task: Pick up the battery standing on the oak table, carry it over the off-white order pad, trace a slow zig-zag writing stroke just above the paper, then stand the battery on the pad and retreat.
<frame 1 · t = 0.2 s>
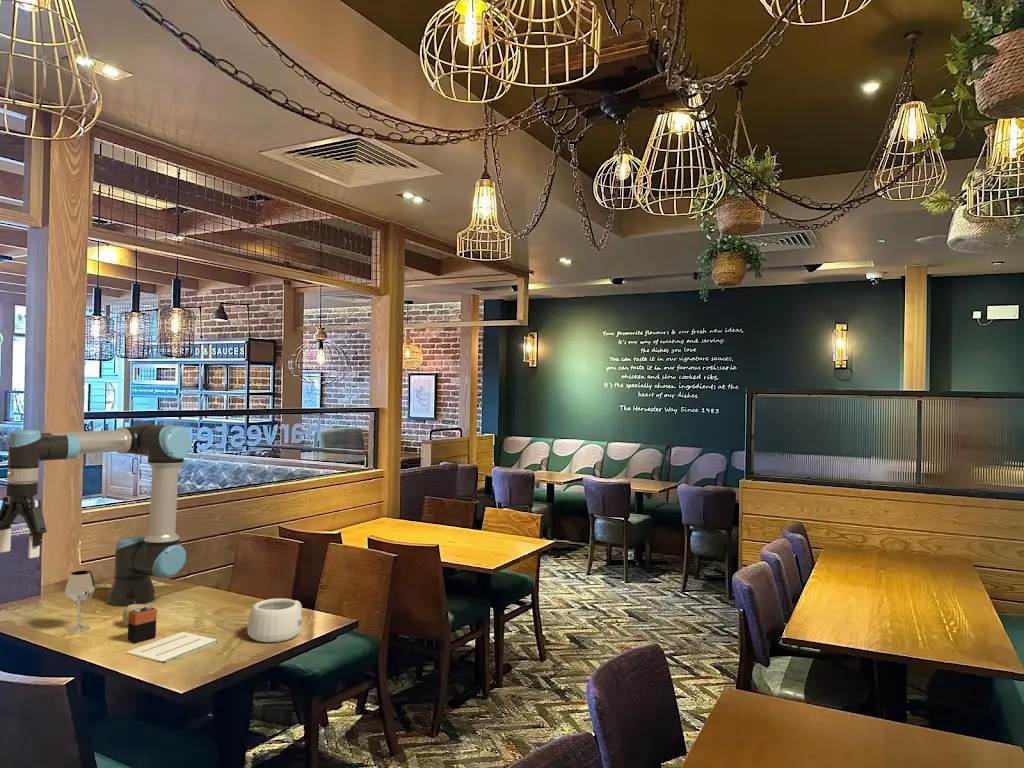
hand: (18, 554, 202), 28 cm above the table, fingers open, 13 cm apart
order pad: (174, 647, 207), on the table
fruit: (135, 626, 225), on the table
wineglass: (78, 629, 220), on the table
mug: (279, 633, 223), on the table
battery: (141, 640, 213), on the table
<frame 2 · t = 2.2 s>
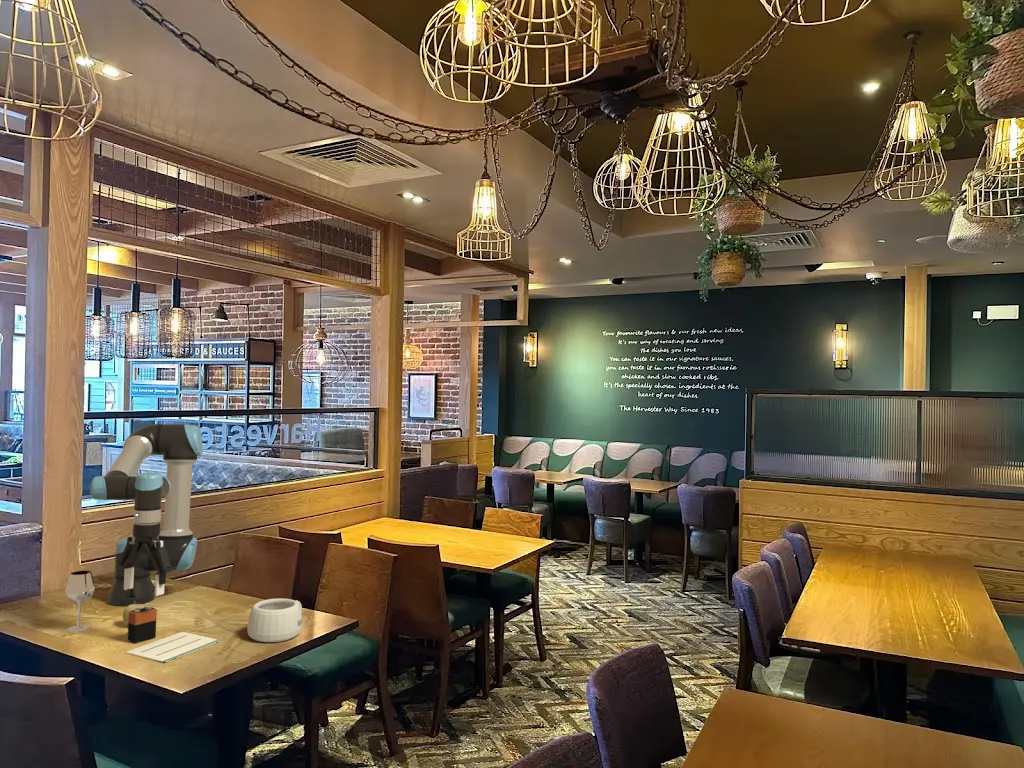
hand: (143, 591, 213), 15 cm above the table, fingers open, 13 cm apart
nothing on the table moved.
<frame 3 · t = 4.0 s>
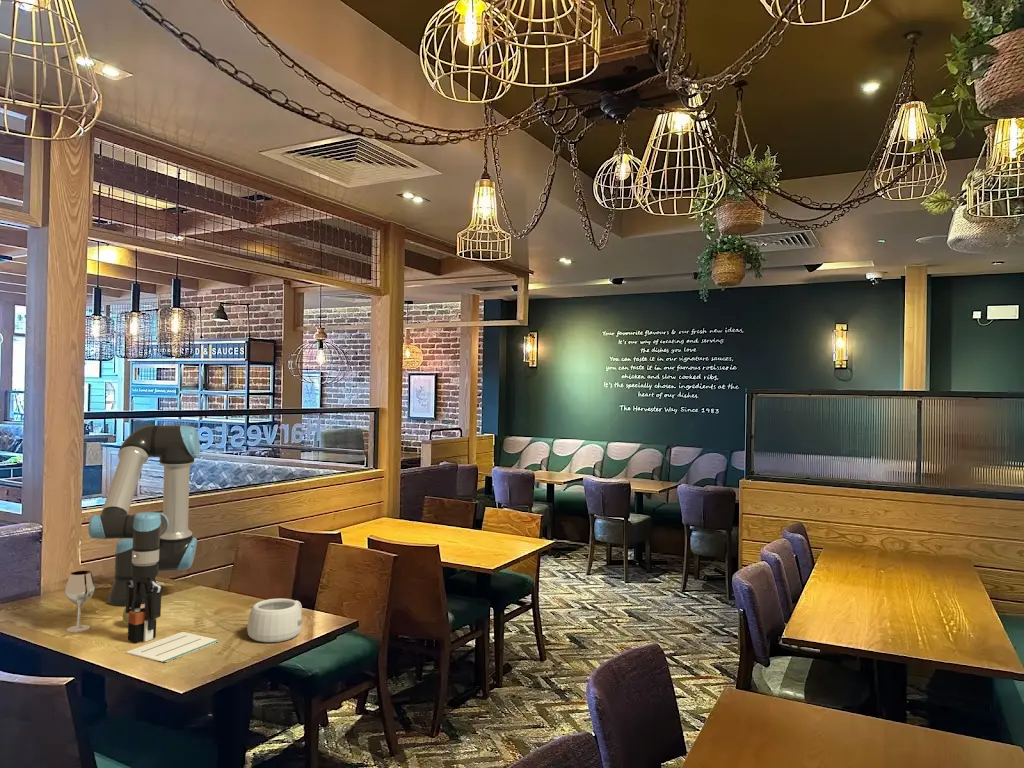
hand: (141, 638, 213), 0 cm above the table, fingers closed on battery, 5 cm apart
battery: (141, 640, 213), on the table, touching gripper
everything else where it was.
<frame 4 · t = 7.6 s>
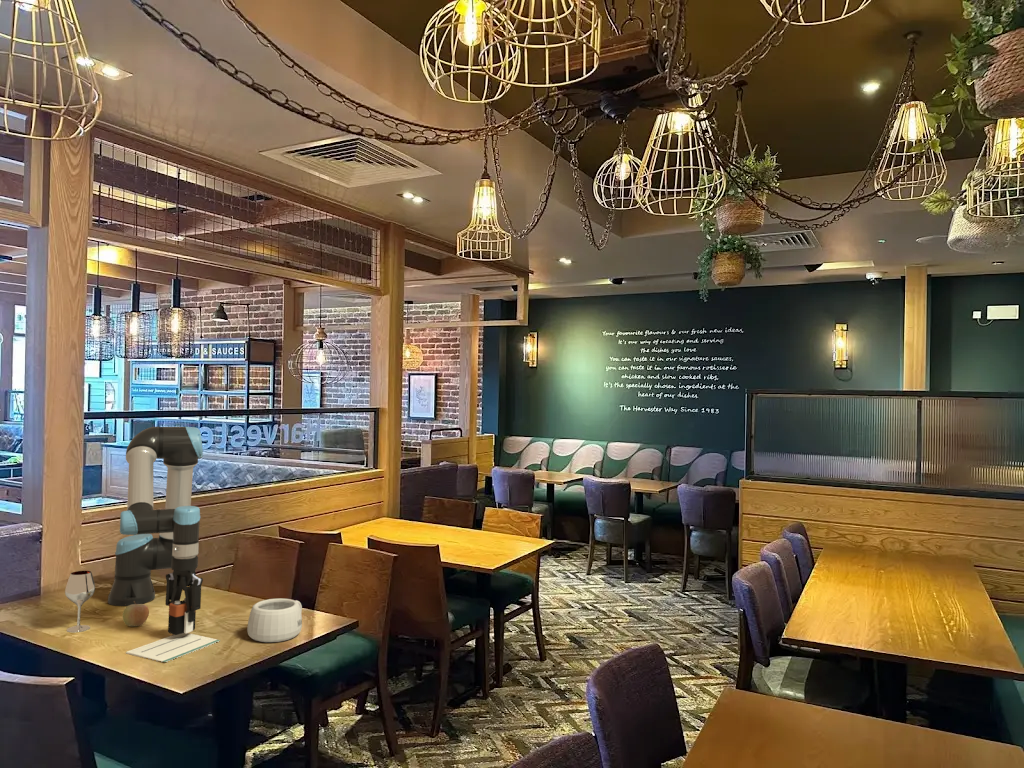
hand: (181, 630, 216), 2 cm above the table, fingers closed on battery, 5 cm apart
battery: (181, 632, 216), point 2 cm above the table, touching gripper
everything else where it was.
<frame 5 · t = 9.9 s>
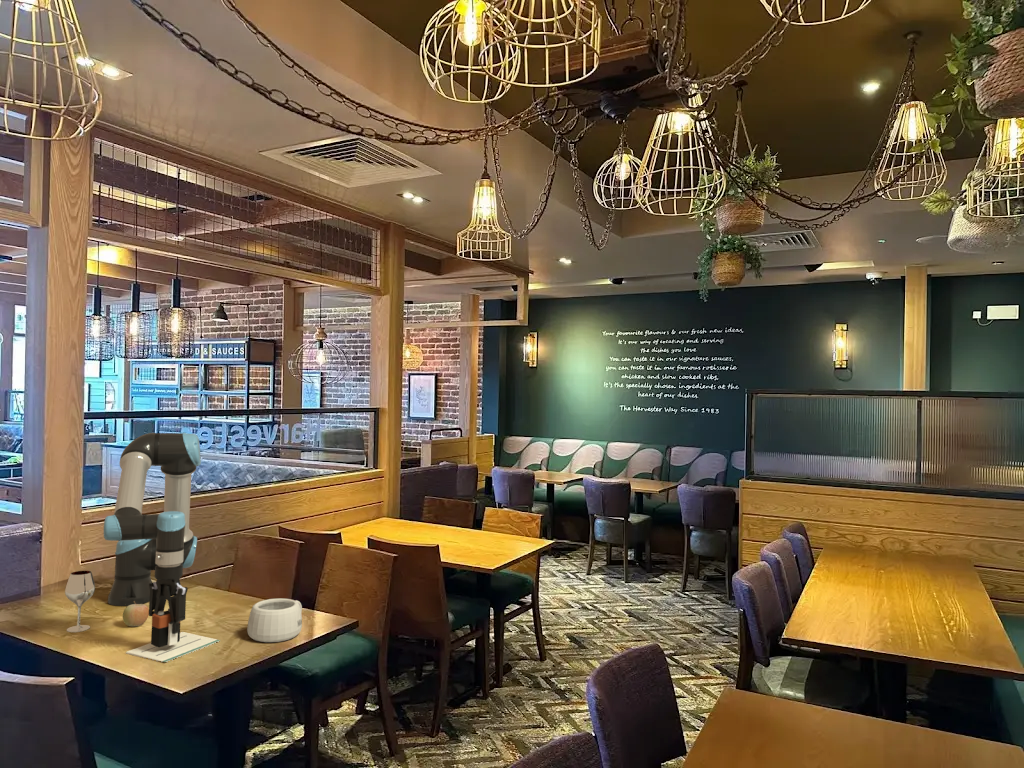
hand: (165, 642, 205), 2 cm above the table, fingers closed on battery, 5 cm apart
battery: (165, 644, 205), point 2 cm above the table, touching gripper
everything else where it was.
when the fingers open (2 cm above the table, at t = 11.5 s): battery drops 1 cm, resting on order pad.
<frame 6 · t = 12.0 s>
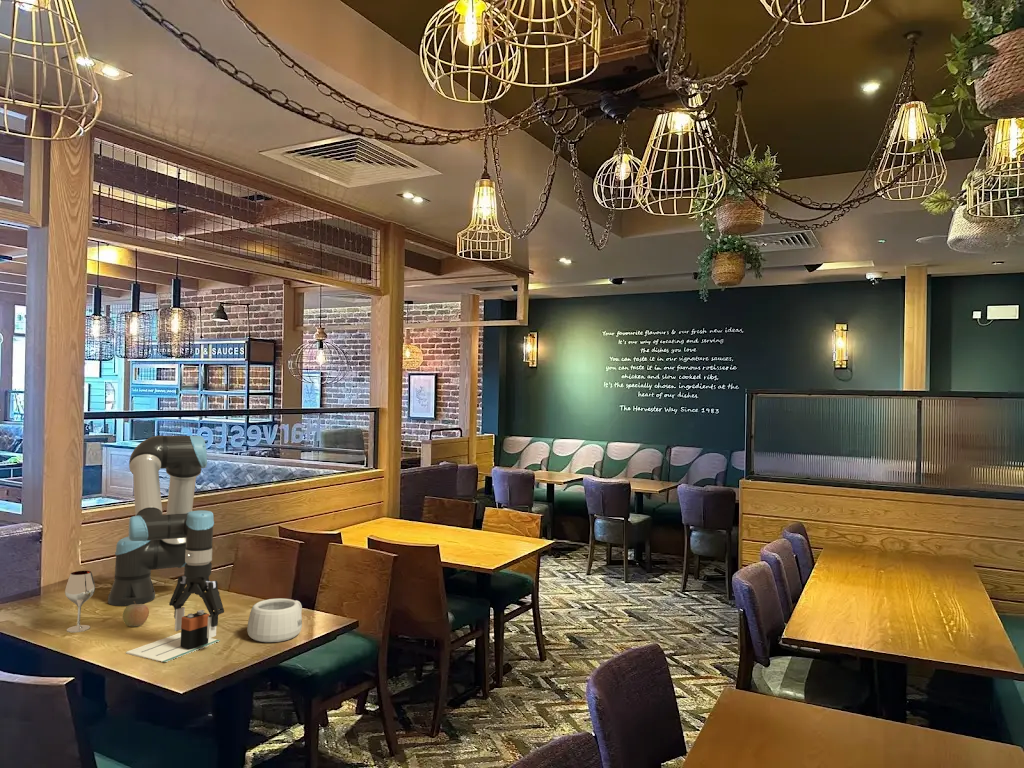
hand: (195, 633, 208), 4 cm above the table, fingers open, 13 cm apart
battery: (194, 646, 208), resting on order pad
everything else where it was.
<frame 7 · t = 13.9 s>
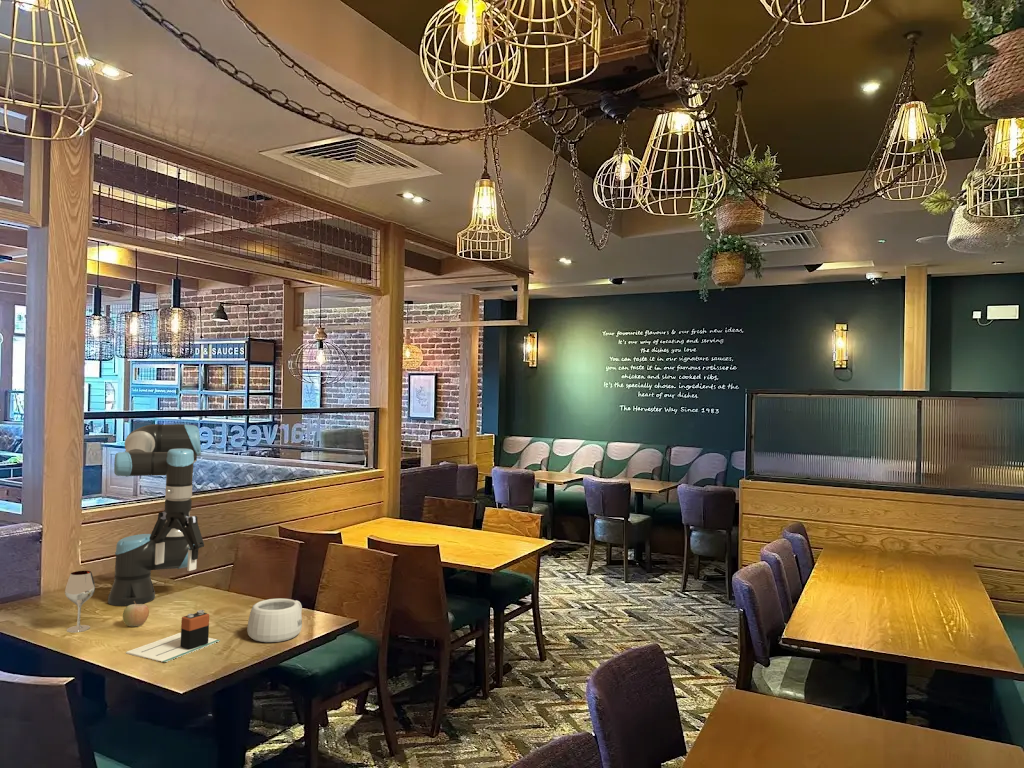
hand: (175, 566, 214), 23 cm above the table, fingers open, 13 cm apart
nothing on the table moved.
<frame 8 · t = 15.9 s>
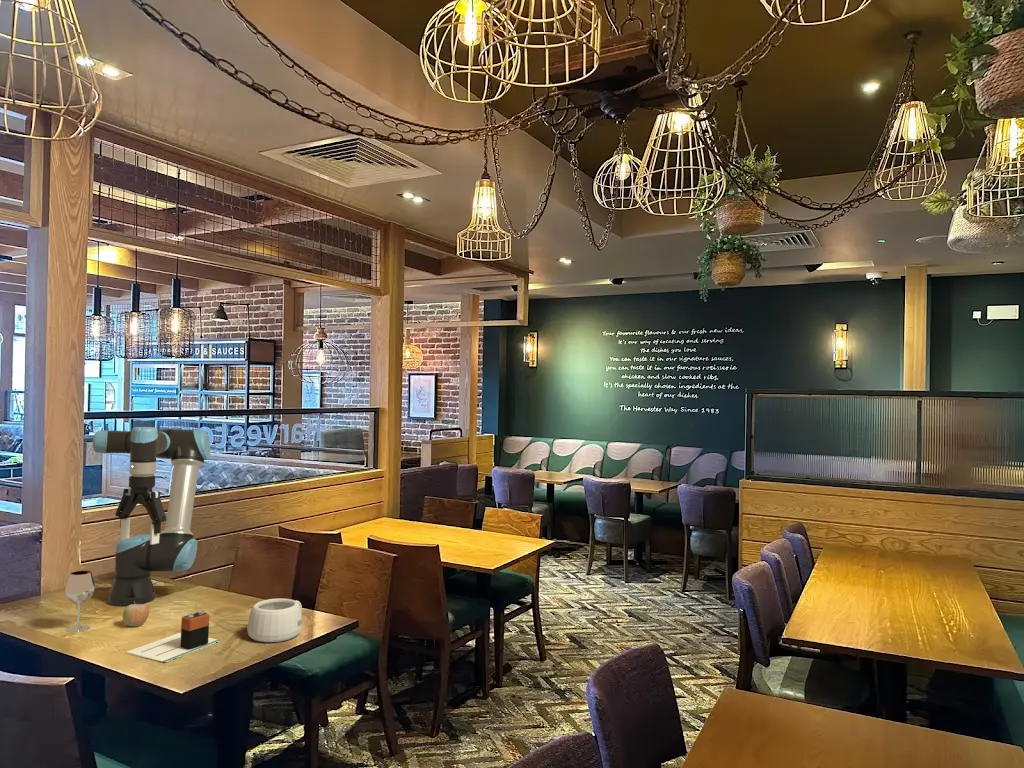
hand: (139, 541, 220), 29 cm above the table, fingers open, 13 cm apart
nothing on the table moved.
at the end: battery inside the target area on the order pad (5.7 cm from its centre), point 0.2 cm above the order pad's base; battery tilted 0°; the gripper is holding nothing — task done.
